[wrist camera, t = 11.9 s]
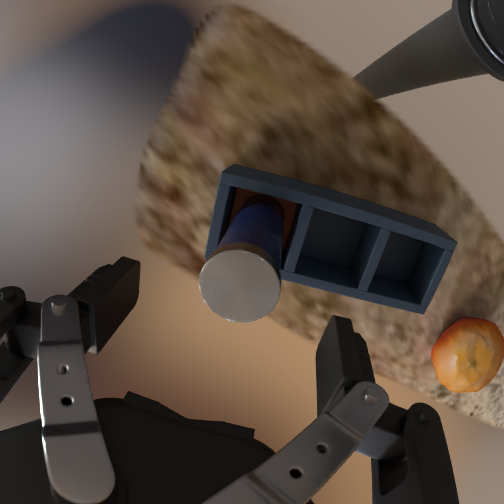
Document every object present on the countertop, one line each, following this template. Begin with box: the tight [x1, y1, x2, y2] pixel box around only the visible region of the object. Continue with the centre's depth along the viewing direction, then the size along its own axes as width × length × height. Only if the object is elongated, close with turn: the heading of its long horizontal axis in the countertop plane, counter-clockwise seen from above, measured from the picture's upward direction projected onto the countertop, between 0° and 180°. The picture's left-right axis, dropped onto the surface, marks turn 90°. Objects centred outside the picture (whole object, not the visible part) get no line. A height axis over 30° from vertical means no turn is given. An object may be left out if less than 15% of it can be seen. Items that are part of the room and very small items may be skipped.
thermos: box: [199, 194, 285, 322], centre depth 20 cm, size 4×4×12 cm
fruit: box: [431, 317, 504, 393], centre depth 26 cm, size 8×8×8 cm
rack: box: [204, 164, 457, 314], centre depth 24 cm, size 7×18×4 cm, turn 77°
